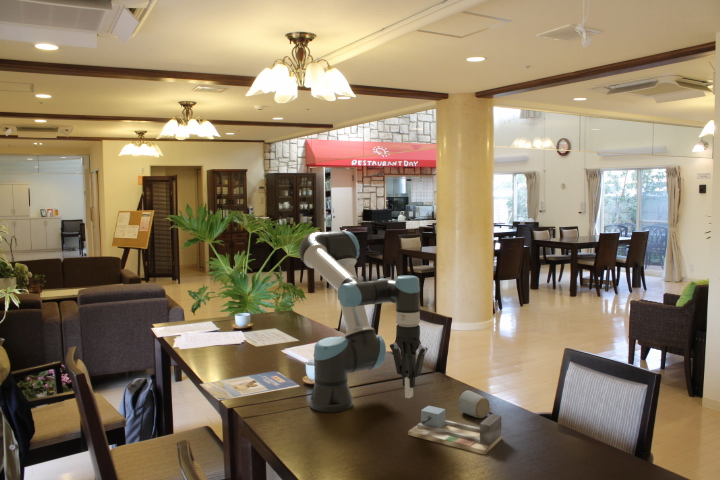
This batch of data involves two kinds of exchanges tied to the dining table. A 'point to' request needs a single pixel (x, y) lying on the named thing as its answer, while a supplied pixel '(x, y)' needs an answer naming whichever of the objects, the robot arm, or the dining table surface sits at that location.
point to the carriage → (433, 416)
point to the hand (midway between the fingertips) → (409, 396)
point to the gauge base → (463, 434)
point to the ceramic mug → (474, 404)
